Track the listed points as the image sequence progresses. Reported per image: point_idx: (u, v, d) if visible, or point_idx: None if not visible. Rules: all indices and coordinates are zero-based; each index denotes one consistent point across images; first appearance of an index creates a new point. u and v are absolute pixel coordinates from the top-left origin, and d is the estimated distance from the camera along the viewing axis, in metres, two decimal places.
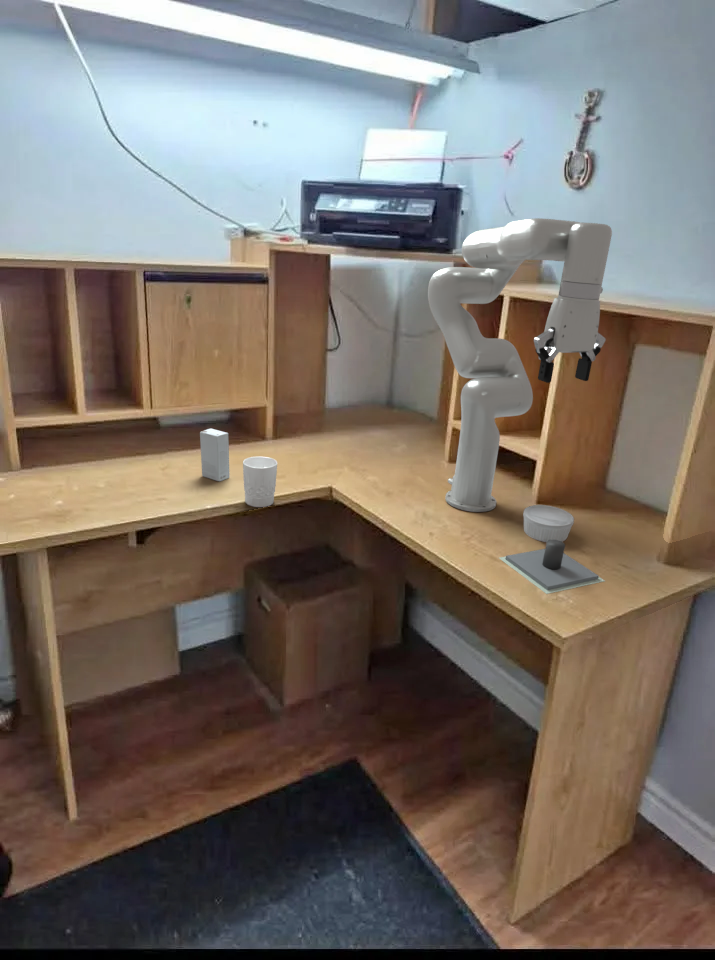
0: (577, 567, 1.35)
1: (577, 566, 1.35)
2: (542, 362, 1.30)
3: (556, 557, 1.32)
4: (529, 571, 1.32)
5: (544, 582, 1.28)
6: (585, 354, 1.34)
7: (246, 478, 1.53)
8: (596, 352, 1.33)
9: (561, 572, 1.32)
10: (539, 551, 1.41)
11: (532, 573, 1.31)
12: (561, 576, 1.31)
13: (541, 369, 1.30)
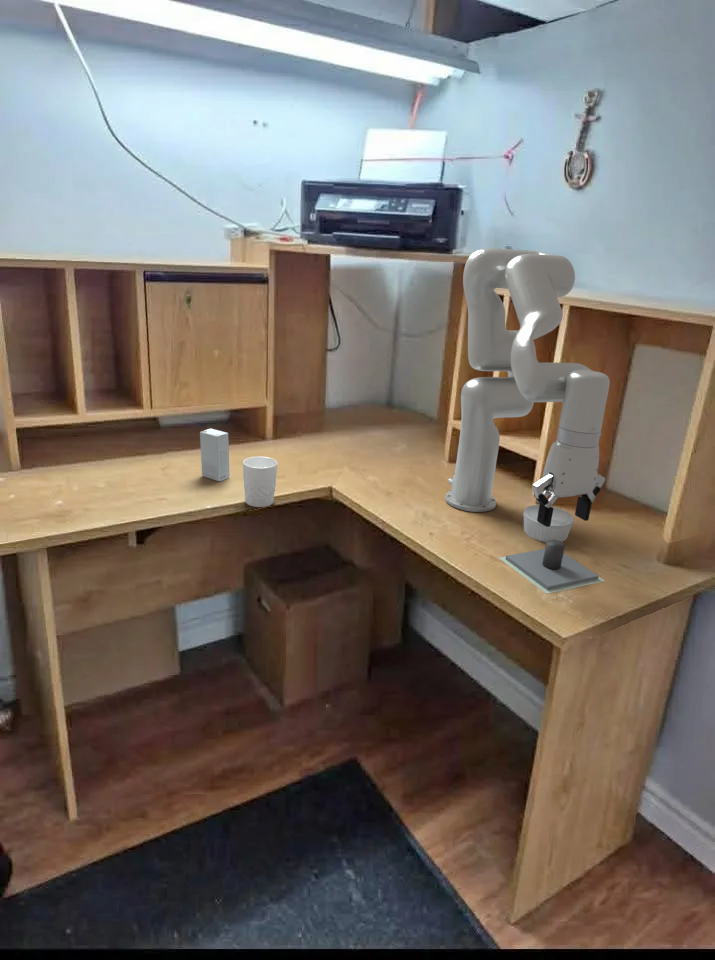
0: (577, 567, 1.35)
1: (577, 566, 1.35)
2: (541, 506, 1.27)
3: (556, 557, 1.32)
4: (529, 571, 1.32)
5: (544, 582, 1.28)
6: (585, 493, 1.31)
7: (246, 478, 1.53)
8: (596, 492, 1.31)
9: (561, 572, 1.32)
10: (539, 551, 1.41)
11: (532, 573, 1.31)
12: (561, 576, 1.31)
13: (540, 513, 1.27)
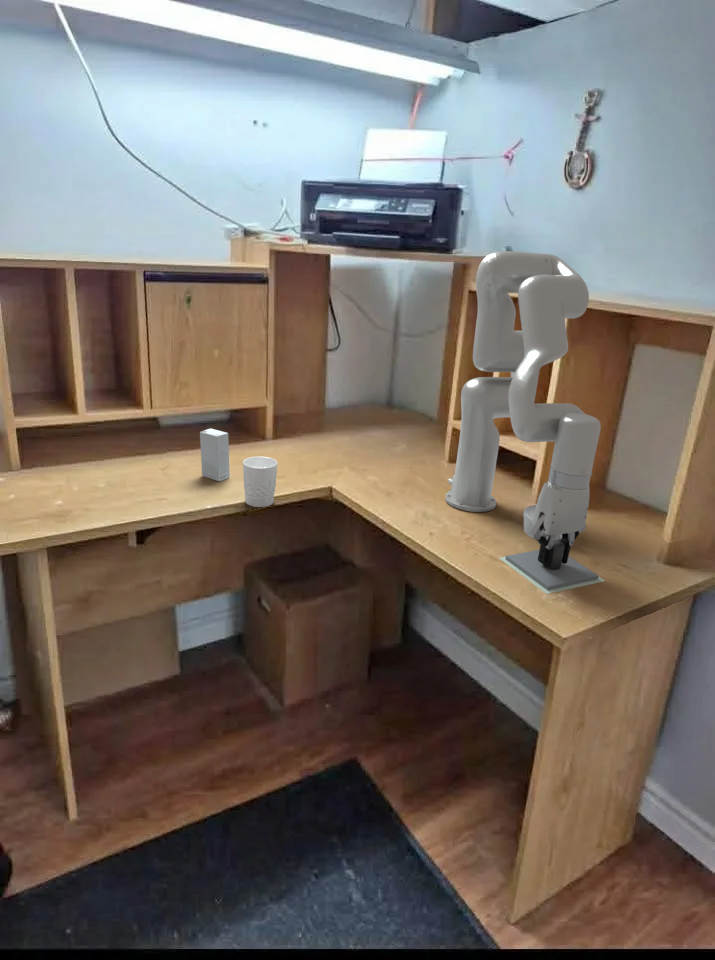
0: (577, 567, 1.35)
1: (577, 566, 1.35)
2: (542, 547, 1.32)
3: (556, 557, 1.32)
4: (529, 571, 1.32)
5: (544, 582, 1.28)
6: (565, 536, 1.34)
7: (246, 478, 1.53)
8: (575, 536, 1.34)
9: (561, 572, 1.32)
10: None
11: (532, 573, 1.31)
12: (561, 576, 1.31)
13: (541, 553, 1.33)
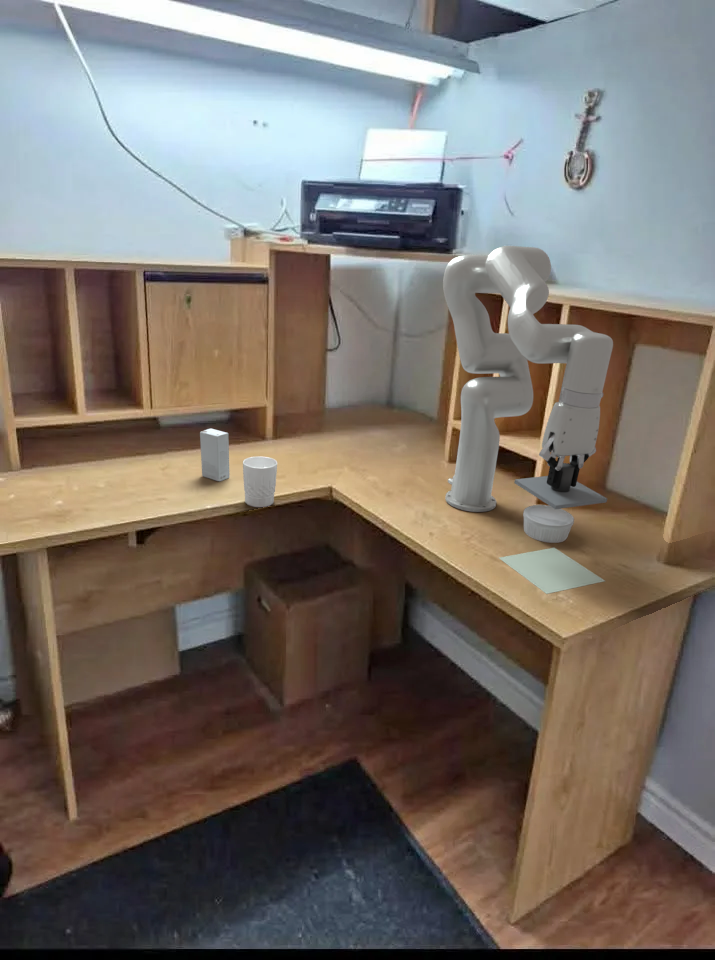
0: (586, 491, 1.35)
1: (586, 490, 1.36)
2: (551, 469, 1.33)
3: (565, 479, 1.33)
4: (538, 492, 1.32)
5: (552, 502, 1.29)
6: (574, 459, 1.35)
7: (246, 478, 1.53)
8: (584, 459, 1.34)
9: (569, 494, 1.33)
10: None
11: (541, 494, 1.32)
12: (570, 497, 1.31)
13: (550, 475, 1.33)
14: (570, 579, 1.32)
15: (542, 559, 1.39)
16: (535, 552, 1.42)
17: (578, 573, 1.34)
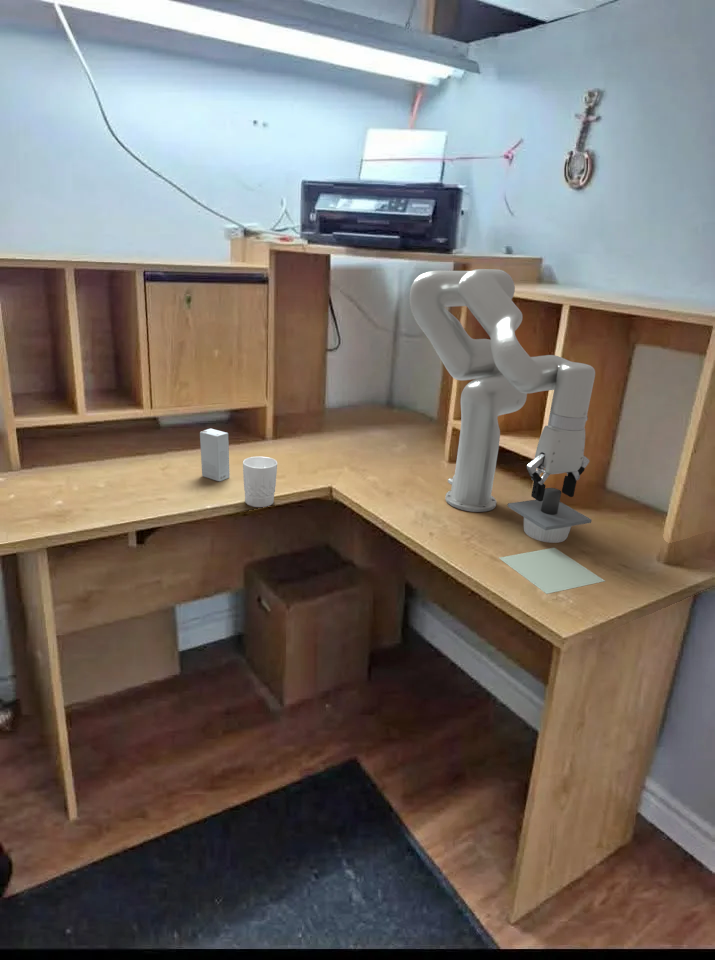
0: (572, 513, 1.49)
1: (572, 512, 1.50)
2: (535, 483, 1.45)
3: (553, 502, 1.47)
4: (529, 515, 1.46)
5: (542, 523, 1.43)
6: (571, 473, 1.49)
7: (246, 478, 1.53)
8: (580, 471, 1.48)
9: (557, 516, 1.47)
10: None
11: (532, 517, 1.46)
12: (558, 519, 1.45)
13: (534, 489, 1.45)
14: (570, 579, 1.32)
15: (542, 559, 1.39)
16: (535, 552, 1.42)
17: (578, 573, 1.34)
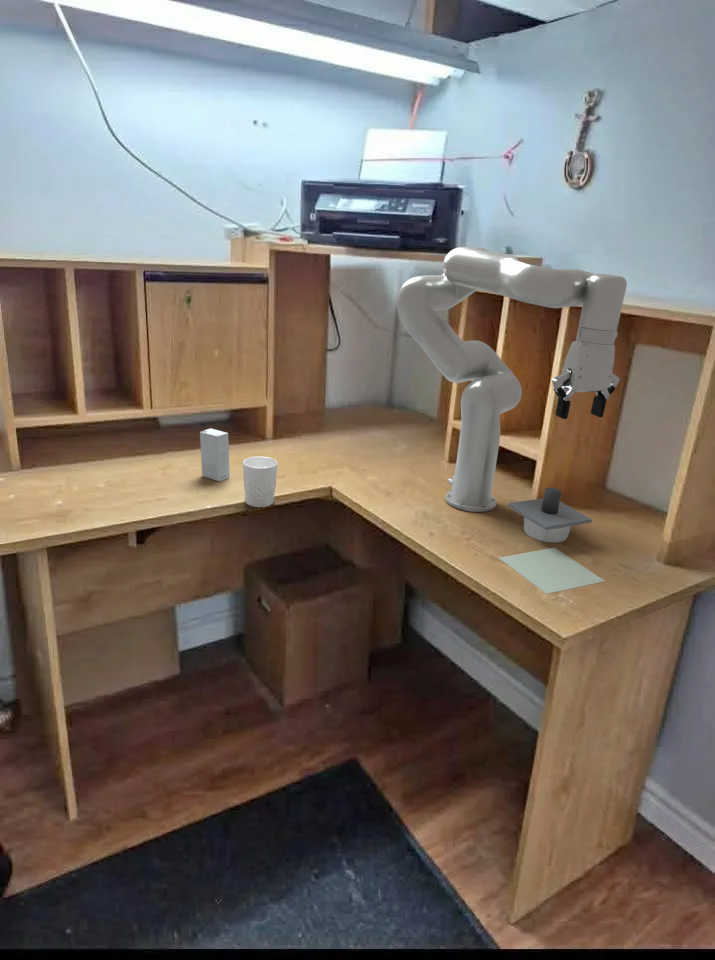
0: (572, 512, 1.50)
1: (573, 512, 1.50)
2: (559, 400, 1.40)
3: (553, 502, 1.47)
4: (529, 515, 1.47)
5: (542, 523, 1.43)
6: (600, 392, 1.44)
7: (246, 478, 1.53)
8: (611, 391, 1.44)
9: (558, 516, 1.47)
10: (538, 500, 1.55)
11: (532, 516, 1.46)
12: (558, 519, 1.46)
13: (558, 406, 1.41)
14: (570, 579, 1.32)
15: (542, 559, 1.39)
16: (535, 552, 1.42)
17: (578, 573, 1.34)
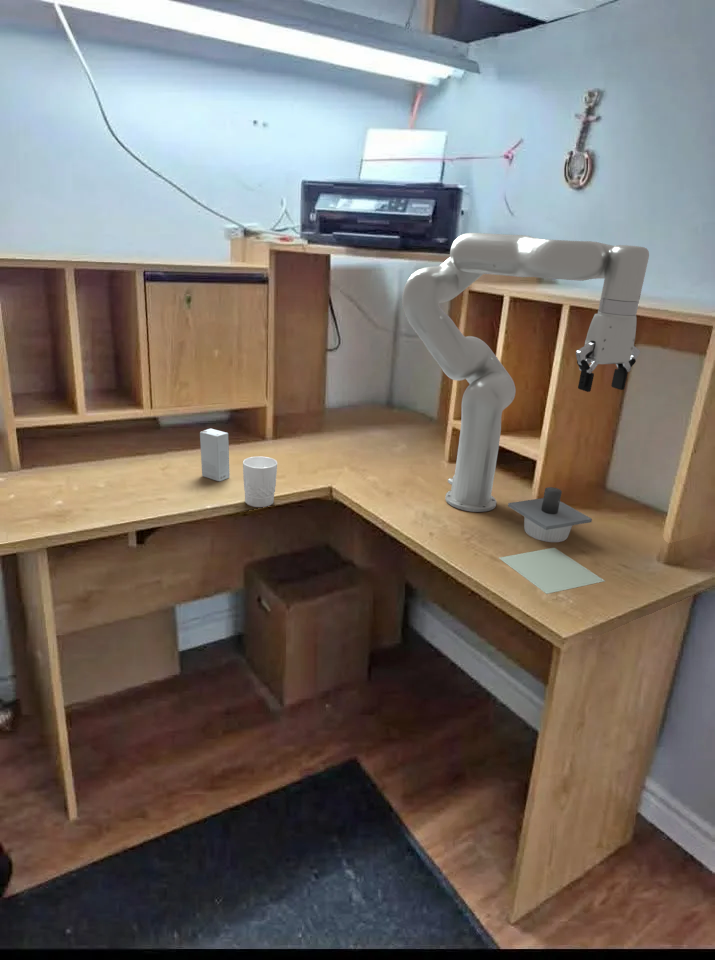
0: (572, 512, 1.50)
1: (573, 511, 1.50)
2: (582, 373, 1.40)
3: (553, 502, 1.47)
4: (529, 515, 1.47)
5: (543, 523, 1.43)
6: (621, 365, 1.45)
7: (246, 478, 1.53)
8: (631, 363, 1.44)
9: (558, 516, 1.47)
10: (538, 500, 1.55)
11: (532, 516, 1.46)
12: (558, 519, 1.46)
13: (581, 379, 1.41)
14: (570, 579, 1.32)
15: (542, 559, 1.39)
16: (535, 552, 1.42)
17: (578, 573, 1.34)
